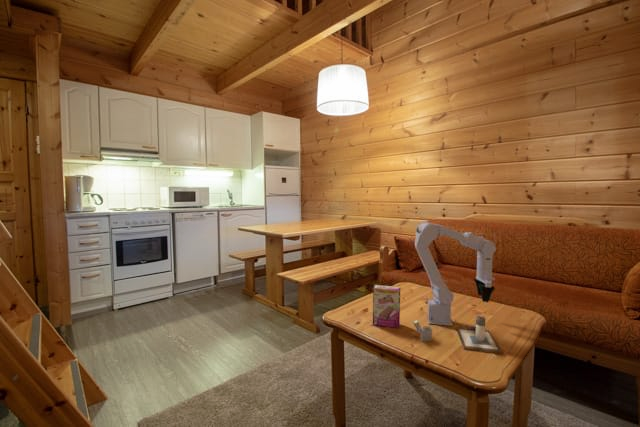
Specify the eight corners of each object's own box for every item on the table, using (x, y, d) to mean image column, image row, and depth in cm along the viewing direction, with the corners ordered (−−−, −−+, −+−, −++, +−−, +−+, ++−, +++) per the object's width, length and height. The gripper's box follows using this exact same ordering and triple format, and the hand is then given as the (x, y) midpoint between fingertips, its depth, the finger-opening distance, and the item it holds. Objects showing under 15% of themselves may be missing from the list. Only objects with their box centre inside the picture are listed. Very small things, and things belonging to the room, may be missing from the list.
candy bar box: (372, 325, 126) (372, 288, 125) (373, 320, 131) (373, 284, 130) (399, 328, 123) (400, 290, 122) (399, 323, 128) (400, 286, 127)
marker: (476, 341, 110) (477, 319, 109) (474, 337, 113) (475, 316, 112) (485, 342, 109) (486, 320, 109) (483, 338, 112) (484, 316, 111)
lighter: (429, 338, 115) (430, 318, 115) (432, 340, 114) (432, 320, 113) (412, 340, 114) (412, 319, 113) (414, 342, 112) (415, 321, 112)
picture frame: (463, 349, 107) (464, 343, 107) (456, 329, 123) (456, 324, 122) (501, 353, 104) (501, 348, 104) (488, 332, 119) (488, 327, 119)
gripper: (500, 272, 119) (498, 305, 120) (490, 263, 133) (489, 293, 134) (480, 271, 121) (479, 304, 122) (472, 262, 135) (471, 292, 136)
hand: (483, 298), depth 128 cm, fingers open, 7 cm apart
